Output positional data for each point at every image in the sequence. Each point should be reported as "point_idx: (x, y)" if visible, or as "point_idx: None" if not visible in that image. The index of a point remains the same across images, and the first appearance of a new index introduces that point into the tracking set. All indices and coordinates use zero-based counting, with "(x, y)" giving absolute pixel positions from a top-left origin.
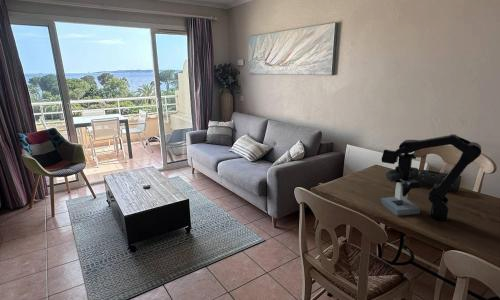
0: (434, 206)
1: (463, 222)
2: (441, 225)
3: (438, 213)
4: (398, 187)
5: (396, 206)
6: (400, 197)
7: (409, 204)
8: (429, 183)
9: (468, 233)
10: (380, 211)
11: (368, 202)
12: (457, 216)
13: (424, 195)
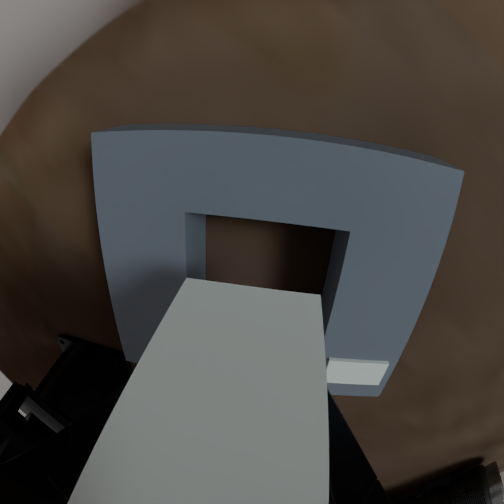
0: (18, 390)
1: None
2: (30, 315)
3: (54, 375)
4: (195, 490)
5: (176, 181)
6: (169, 314)
7: None
8: None
9: (4, 344)
10: (250, 11)
11: (478, 47)
12: None
13: None
